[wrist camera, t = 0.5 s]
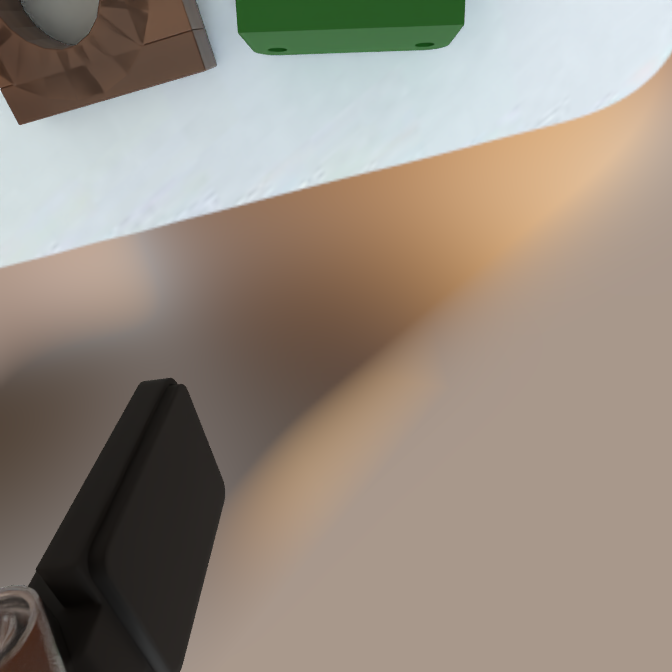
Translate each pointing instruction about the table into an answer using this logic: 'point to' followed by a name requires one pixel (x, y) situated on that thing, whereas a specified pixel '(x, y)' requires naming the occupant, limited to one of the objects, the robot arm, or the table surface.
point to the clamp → (347, 25)
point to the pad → (99, 55)
